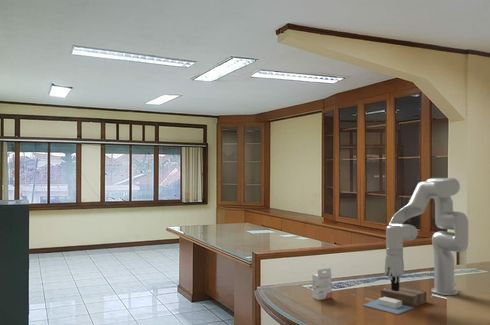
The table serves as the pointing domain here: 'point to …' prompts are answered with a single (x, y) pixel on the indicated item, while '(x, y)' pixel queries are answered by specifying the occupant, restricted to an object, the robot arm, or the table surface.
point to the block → (390, 302)
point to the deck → (406, 296)
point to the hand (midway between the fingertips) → (395, 290)
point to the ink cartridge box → (322, 284)
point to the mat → (388, 308)
